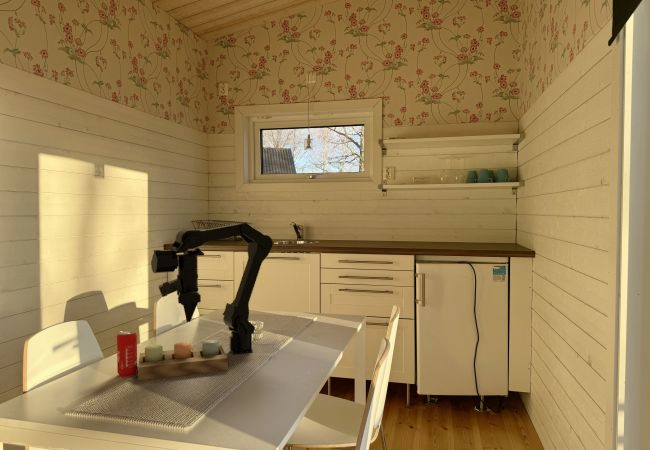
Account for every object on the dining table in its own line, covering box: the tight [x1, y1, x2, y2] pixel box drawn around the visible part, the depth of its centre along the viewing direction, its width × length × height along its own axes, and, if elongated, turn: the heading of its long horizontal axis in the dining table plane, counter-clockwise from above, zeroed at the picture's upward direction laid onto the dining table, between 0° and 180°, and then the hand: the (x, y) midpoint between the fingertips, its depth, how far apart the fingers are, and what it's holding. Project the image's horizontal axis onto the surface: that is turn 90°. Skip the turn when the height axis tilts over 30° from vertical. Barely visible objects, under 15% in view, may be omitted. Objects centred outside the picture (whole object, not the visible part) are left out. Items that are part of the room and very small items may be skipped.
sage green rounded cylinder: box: [201, 339, 220, 357], centre depth 142 cm, size 5×5×4 cm
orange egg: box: [173, 341, 192, 359], centre depth 139 cm, size 5×5×4 cm
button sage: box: [144, 344, 164, 362], centre depth 136 cm, size 5×5×4 cm
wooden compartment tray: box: [137, 345, 229, 381], centre depth 139 cm, size 24×14×4 cm, turn 109°
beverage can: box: [116, 329, 138, 378], centre depth 133 cm, size 5×5×12 cm
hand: (188, 321), depth 145 cm, fingers closed
